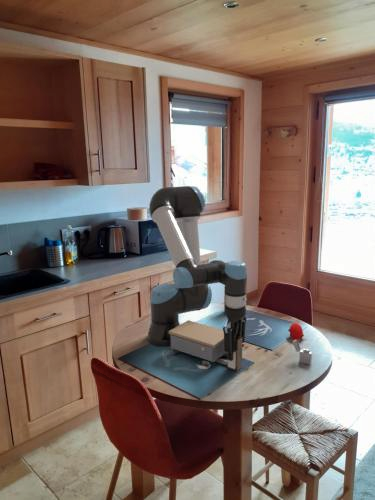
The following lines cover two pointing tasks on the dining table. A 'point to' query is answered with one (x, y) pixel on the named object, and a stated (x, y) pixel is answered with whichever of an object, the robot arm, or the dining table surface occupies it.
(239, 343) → the blade tool
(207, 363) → the steel token
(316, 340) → the dining table surface
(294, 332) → the red egg shape
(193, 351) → the cabinet
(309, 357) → the lighter
